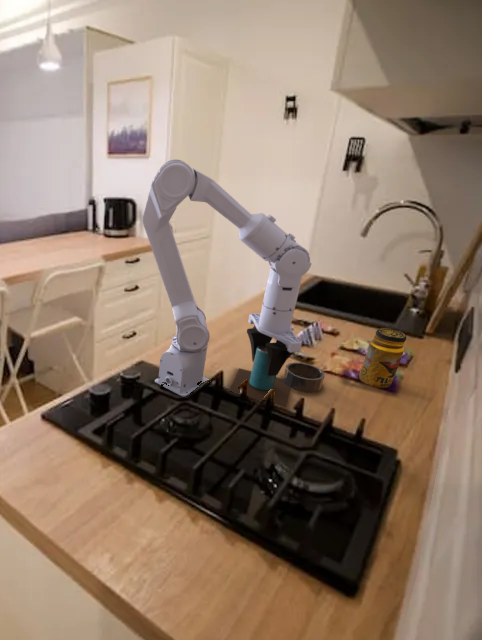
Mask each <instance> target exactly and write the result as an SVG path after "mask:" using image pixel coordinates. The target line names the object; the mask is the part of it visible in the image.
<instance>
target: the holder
mask: <svg viewBox="0 0 482 640" xmlns="http://www.w3.org/2000/svg"><path fill="white" fill-rule="evenodd" d="M325 377H326V376H325V372H324V371H323V370H322V369H320V368H319V367H317V366H315V365H312V364H310V363H306V362H297V361H293V362H290V363H288V364H286V365H285V369H284V371H283V377H282V379H283V381H284V383H285V384H286V385H288V386H289V387H290V389H293V390H295V391H298V392H302V393H317V392H320V390H321V389H322V386H323V383H324V380H325Z"/></svg>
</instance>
